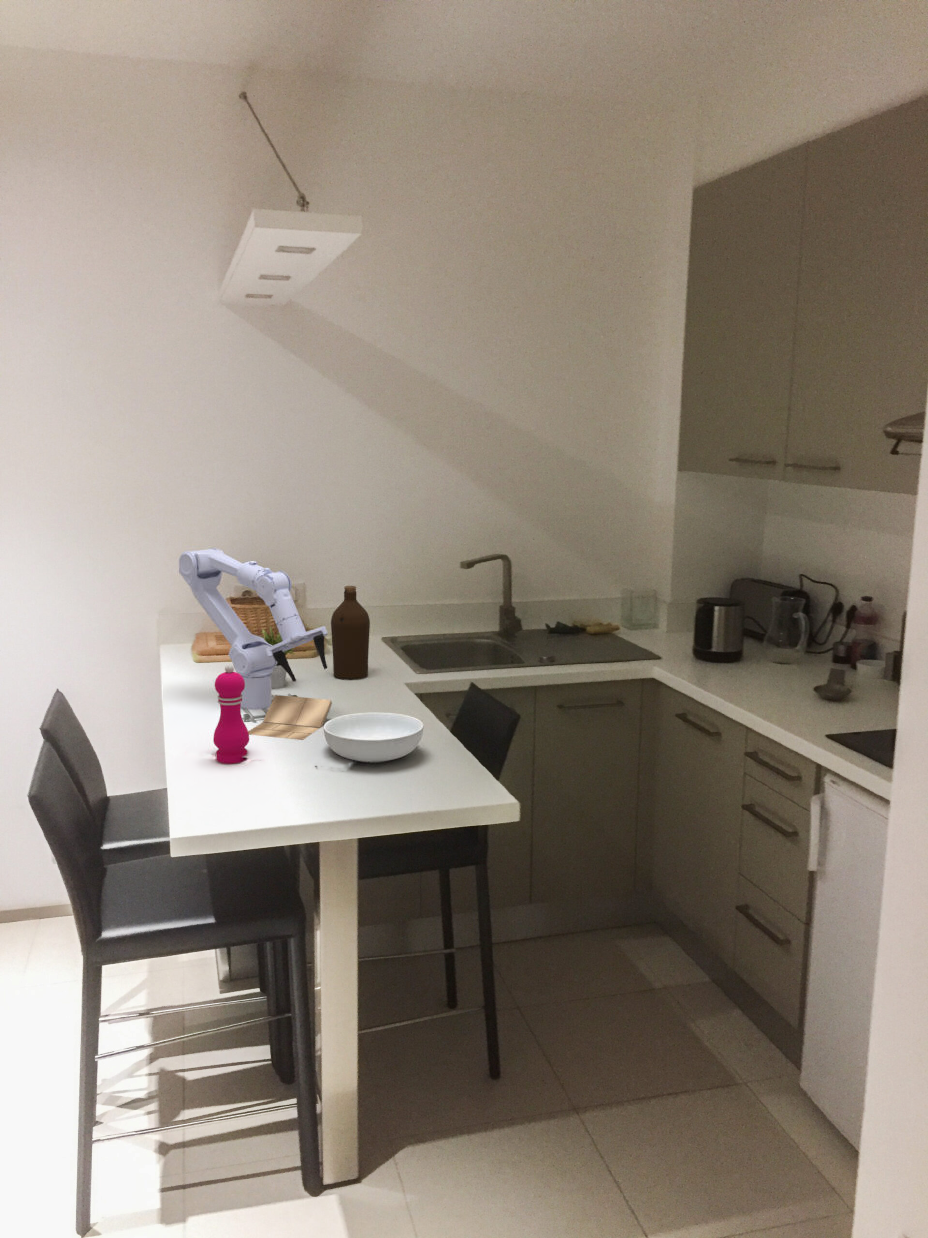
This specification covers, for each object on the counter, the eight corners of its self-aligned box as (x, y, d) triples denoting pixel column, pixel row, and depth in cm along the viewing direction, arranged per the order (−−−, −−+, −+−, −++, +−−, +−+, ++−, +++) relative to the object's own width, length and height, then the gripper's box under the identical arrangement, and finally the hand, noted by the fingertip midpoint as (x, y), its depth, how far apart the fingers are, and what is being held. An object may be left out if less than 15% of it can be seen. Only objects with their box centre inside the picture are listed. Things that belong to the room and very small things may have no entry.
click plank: (264, 724, 232) (262, 721, 231) (276, 698, 237) (275, 694, 236) (321, 730, 228) (319, 727, 227) (332, 703, 234) (330, 699, 233)
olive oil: (371, 680, 276) (371, 589, 271) (332, 681, 274) (331, 589, 269) (368, 671, 286) (368, 583, 281) (330, 671, 284) (329, 583, 280)
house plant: (297, 695, 259) (296, 632, 256) (243, 693, 260) (241, 631, 257) (306, 681, 273) (305, 621, 270) (255, 680, 274) (254, 620, 271)
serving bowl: (433, 745, 221) (433, 714, 219) (408, 776, 200) (409, 743, 199) (342, 737, 225) (342, 707, 223) (309, 768, 205) (308, 735, 203)
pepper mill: (218, 766, 204) (215, 670, 201) (210, 756, 211) (207, 662, 207) (254, 761, 208) (251, 666, 204) (244, 751, 214) (242, 659, 210)
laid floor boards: (243, 739, 222) (243, 733, 222) (262, 727, 231) (262, 722, 231) (302, 745, 219) (302, 739, 219) (319, 733, 227) (319, 728, 227)
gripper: (257, 628, 229) (280, 684, 227) (317, 605, 232) (340, 659, 231) (258, 634, 236) (280, 688, 234) (317, 612, 239) (339, 664, 237)
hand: (310, 674), depth 233 cm, fingers open, 7 cm apart
